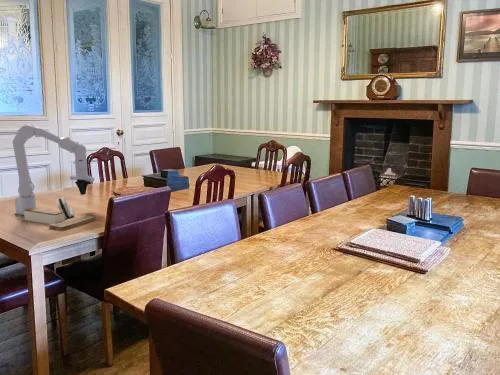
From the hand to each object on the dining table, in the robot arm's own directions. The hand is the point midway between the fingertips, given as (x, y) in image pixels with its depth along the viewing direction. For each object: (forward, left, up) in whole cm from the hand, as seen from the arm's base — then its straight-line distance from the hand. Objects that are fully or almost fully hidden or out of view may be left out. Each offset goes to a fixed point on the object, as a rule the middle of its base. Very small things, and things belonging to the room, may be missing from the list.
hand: (83, 194), depth 240 cm
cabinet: (0, -25, -8) cm, 26 cm away
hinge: (0, -12, -8) cm, 15 cm away
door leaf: (+16, -23, -8) cm, 29 cm away
